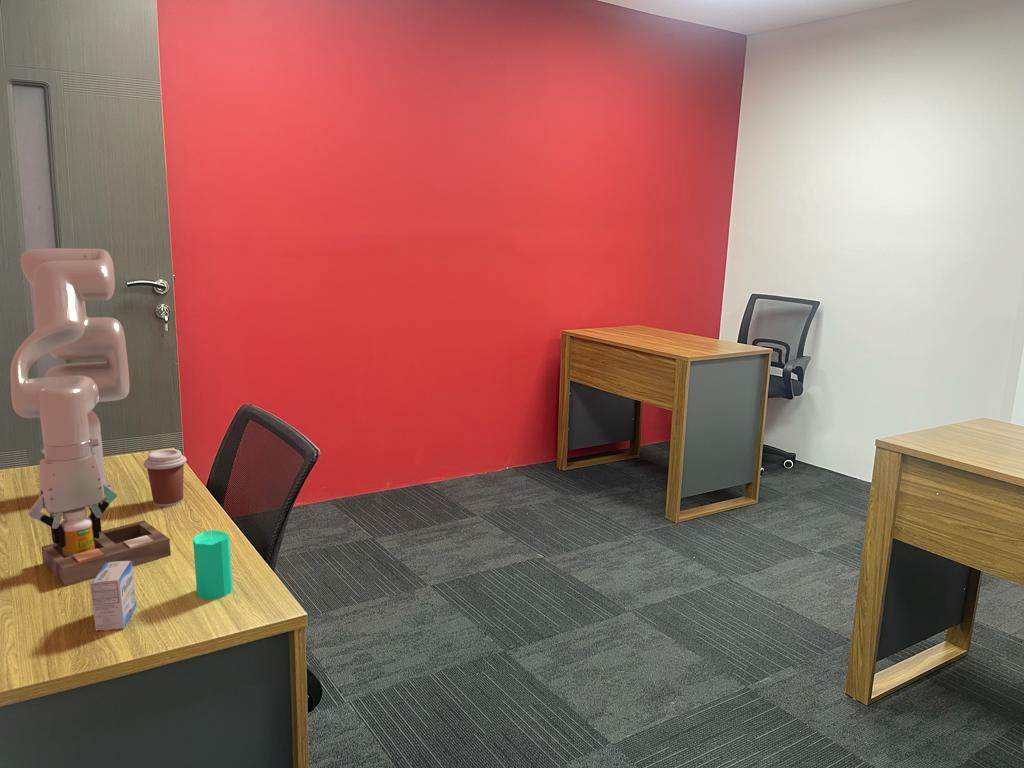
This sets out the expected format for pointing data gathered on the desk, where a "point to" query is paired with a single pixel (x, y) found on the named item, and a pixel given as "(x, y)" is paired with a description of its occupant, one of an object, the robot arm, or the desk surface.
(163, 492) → the coffee cup
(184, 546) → the desk surface
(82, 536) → the supplement bottle
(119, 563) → the medicine box
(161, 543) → the socket block
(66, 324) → the robot arm
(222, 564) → the candle
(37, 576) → the desk surface
